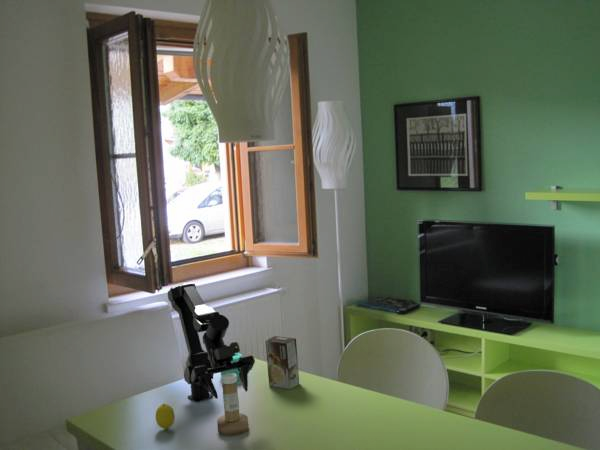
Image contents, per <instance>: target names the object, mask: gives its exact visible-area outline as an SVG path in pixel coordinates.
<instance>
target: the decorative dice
mask: <svg viewBox="0 0 600 450" xmlns="http://www.w3.org/2000/svg"><path fill="white" fill-rule="evenodd" d="M241 356H243V354H241V353H240V352H238V353H235V356H233V360H232V361H231V363H234V362H238V360H239V358H240V357H241ZM227 373H235V374H236V375H237V381H239V380H240V381H241V379H240V376H239V373H240V372H239V371H238V368H237V369H233V370H228V371H224V372H220V377H221V376H222V375H224V374H227Z"/></svg>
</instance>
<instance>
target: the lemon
mask: <svg viewBox="0 0 600 450" xmlns="http://www.w3.org/2000/svg"><path fill="white" fill-rule="evenodd" d="M172 407H173V406H171V405H169V404H166V403H162V404H161V405H159V406H158V407H157V409H156V411H155V421H156V424H157V426H158V427H159V428H160V429H161V428H162V429H164V430H168V429H169V428H170V427H171V426H173V425H174V422H175V418H176V416H175V411H174V409H173V408H172Z"/></svg>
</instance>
